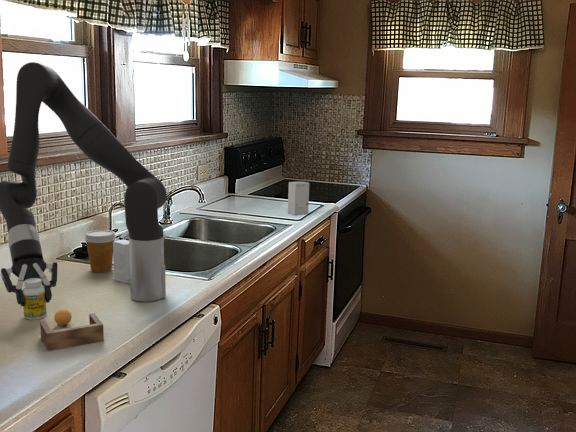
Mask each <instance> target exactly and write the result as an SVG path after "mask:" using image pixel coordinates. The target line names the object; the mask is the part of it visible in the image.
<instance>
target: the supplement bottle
mask: <svg viewBox="0 0 576 432" xmlns="http://www.w3.org/2000/svg"><path fill="white" fill-rule="evenodd" d="M23 287H24V288H22V291H23V297H24V306H22V307H23V316H24V318H25V320H30V321H32V320H33V321H34V320H41V319H44V317H47V303H46V298H45V289H44V287H43V286H42V281H41V279H39V278H31V279H27V280H25V281H24V283H23Z"/></svg>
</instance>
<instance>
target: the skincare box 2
mask: <svg viewBox="0 0 576 432" xmlns="http://www.w3.org/2000/svg"><path fill="white" fill-rule="evenodd" d="M287 194H288V195H287V197H288V198H287V213H288V214H289V215H292V216H301V215H306V214H307V215H308V214H309V205H310V204H309V202H310V200H309V199H310V182H307V181H289V182H288V193H287Z"/></svg>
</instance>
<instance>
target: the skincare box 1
mask: <svg viewBox="0 0 576 432" xmlns="http://www.w3.org/2000/svg"><path fill="white" fill-rule="evenodd" d="M113 279H114V280H115V281H116V282H121V283H125V284H130V256H129V239H118V240H114V241H113Z"/></svg>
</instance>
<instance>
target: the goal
mask: <svg viewBox="0 0 576 432" xmlns="http://www.w3.org/2000/svg"><path fill="white" fill-rule="evenodd" d="M88 316H89V317H88V319H89V320H88V322H89V324H86V325H79V326H74V327H68V328H61V329H55V330H51V328H50V325H48V324H49V323H48V322H47V321H46V320H42V321H39V324H40V325H39V327H40V330H39V331H40V339H41V341H42V343H43V345H44V347H45V348H46V350H47V351H48V352H49V351H55V350H60V349H64V348H65V349H66V348H69V347H75V346H76V347H77V346H82V345H88V344H92V343H94V344H95V343H99V342H104V341H105V338H104V337H105V336H104V323H102V321H101V320H100V319H99V317H98V316H97V315H96V314H95V313H89V314H88Z"/></svg>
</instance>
